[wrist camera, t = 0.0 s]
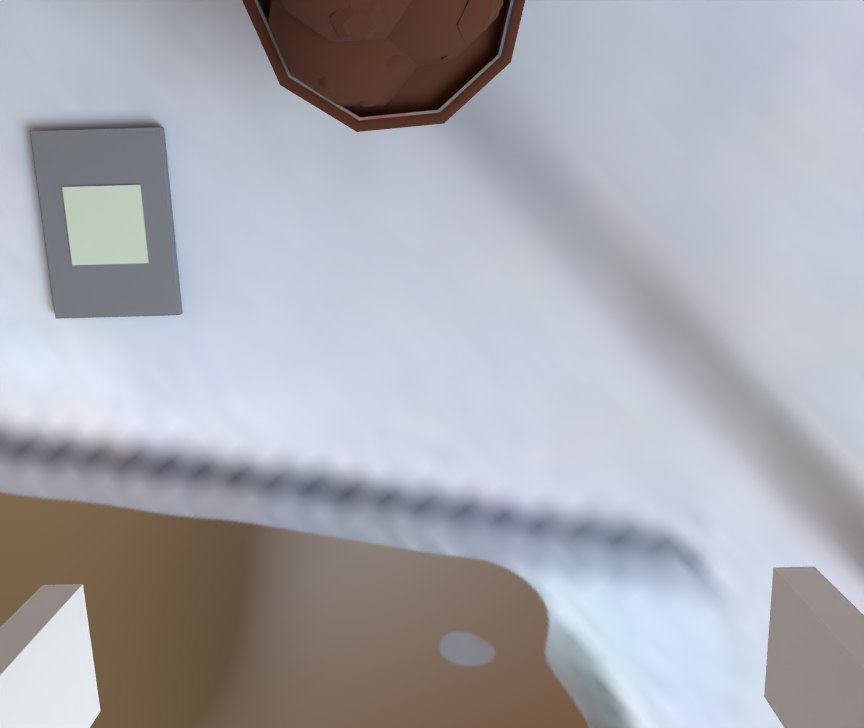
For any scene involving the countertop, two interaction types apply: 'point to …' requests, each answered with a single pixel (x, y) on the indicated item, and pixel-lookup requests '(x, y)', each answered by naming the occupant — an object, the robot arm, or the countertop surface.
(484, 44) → the ice cream bowl
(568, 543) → the countertop surface
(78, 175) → the mat
